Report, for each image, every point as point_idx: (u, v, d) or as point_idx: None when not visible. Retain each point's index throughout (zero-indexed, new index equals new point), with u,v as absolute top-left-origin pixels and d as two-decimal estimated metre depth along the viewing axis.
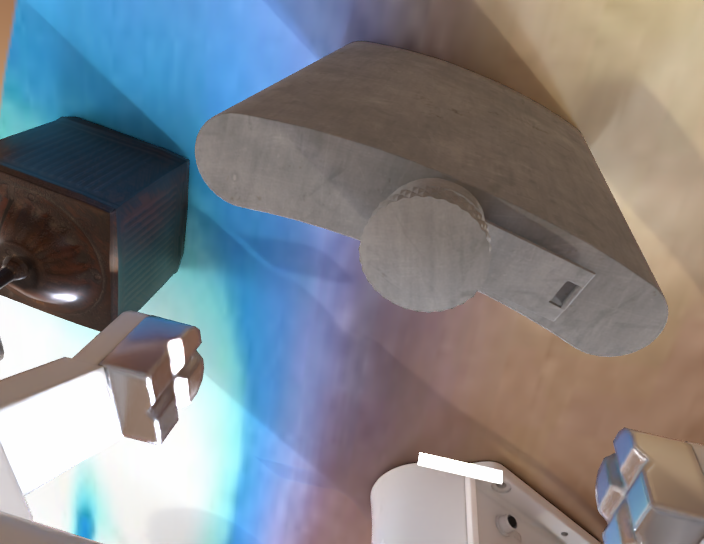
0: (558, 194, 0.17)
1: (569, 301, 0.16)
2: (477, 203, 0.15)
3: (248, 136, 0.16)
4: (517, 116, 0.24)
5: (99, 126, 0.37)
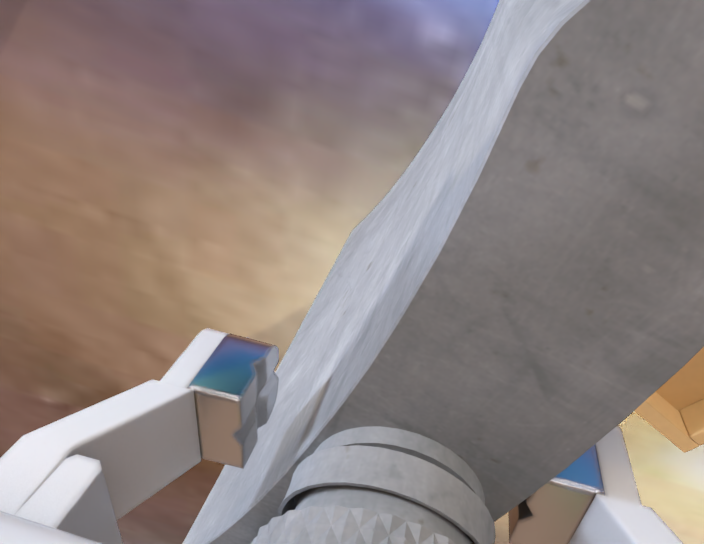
0: None
1: None
2: None
3: None
4: None
5: None
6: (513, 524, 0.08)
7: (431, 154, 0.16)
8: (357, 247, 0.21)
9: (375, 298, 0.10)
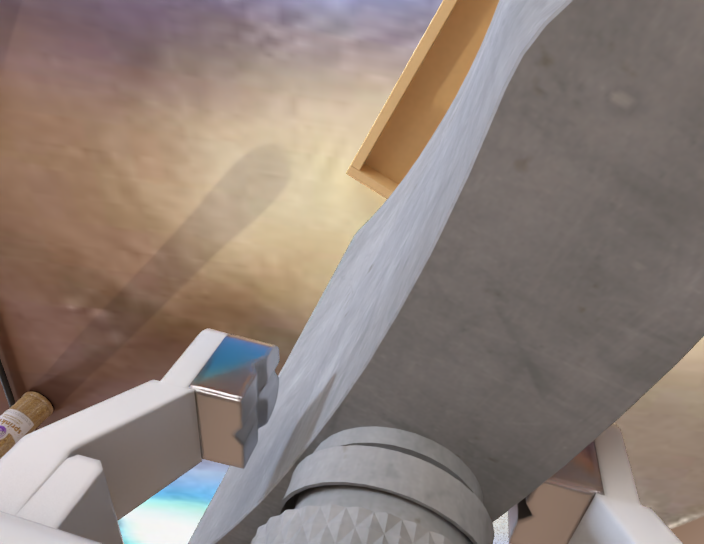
0: None
1: None
2: None
3: None
4: None
5: None
6: (513, 524, 0.08)
7: (431, 156, 0.16)
8: (360, 250, 0.21)
9: (374, 299, 0.10)
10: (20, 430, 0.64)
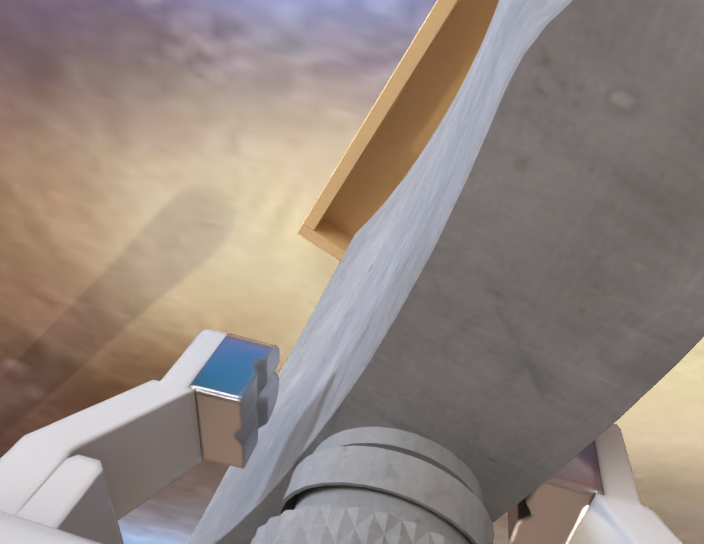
0: None
1: None
2: None
3: None
4: None
5: None
6: (514, 524, 0.08)
7: (431, 156, 0.16)
8: (359, 250, 0.21)
9: (374, 300, 0.10)
10: None
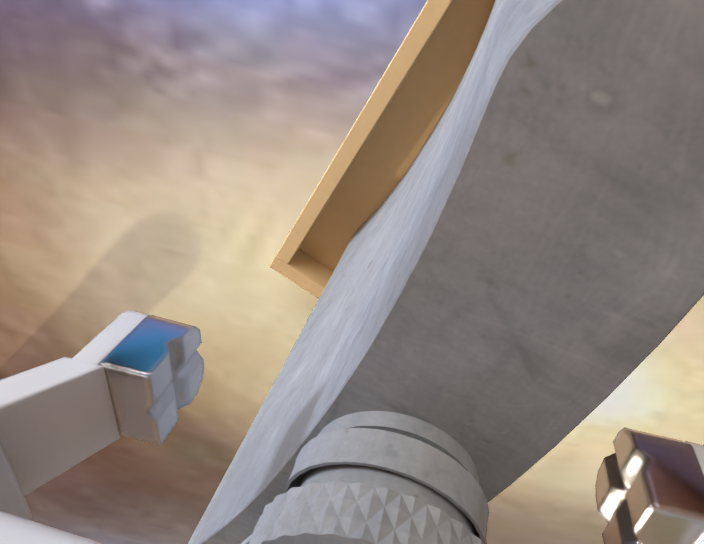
0: None
1: None
2: None
3: None
4: None
5: None
6: None
7: (428, 155, 0.17)
8: (359, 247, 0.22)
9: (374, 292, 0.11)
10: None
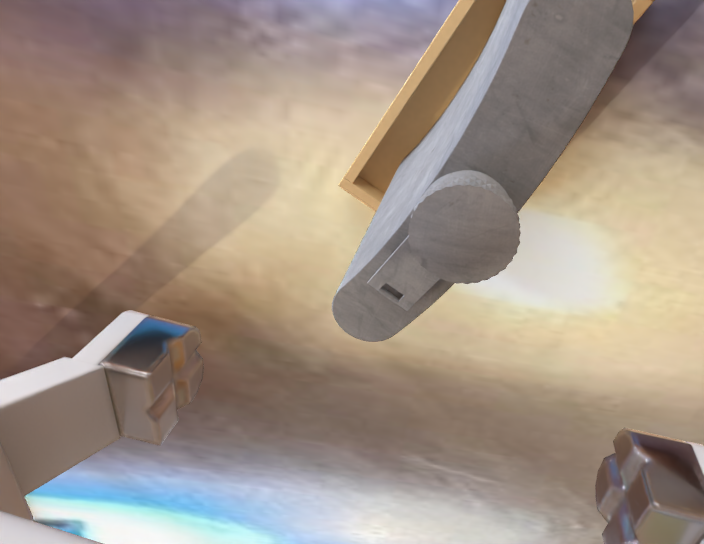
0: None
1: (385, 294, 0.21)
2: None
3: (598, 51, 0.15)
4: None
5: None
6: None
7: (467, 87, 0.27)
8: (412, 160, 0.31)
9: (450, 139, 0.21)
10: None
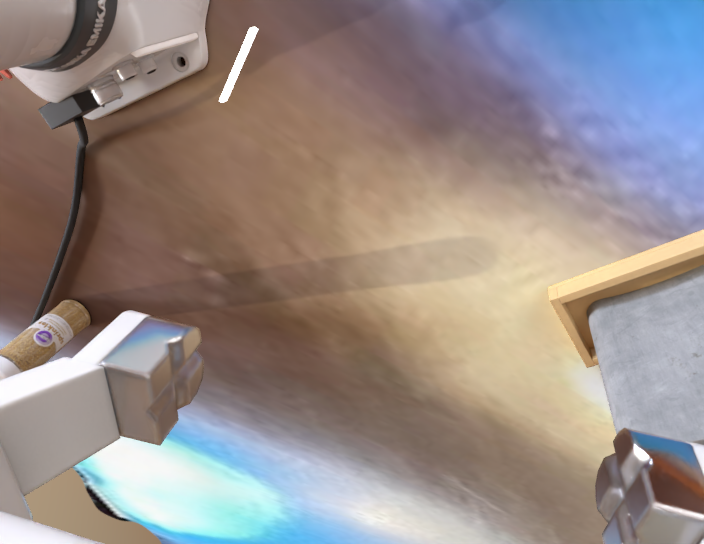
0: None
1: None
2: None
3: None
4: None
5: None
6: None
7: None
8: (635, 323, 0.43)
9: None
10: (63, 341, 0.62)
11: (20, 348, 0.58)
